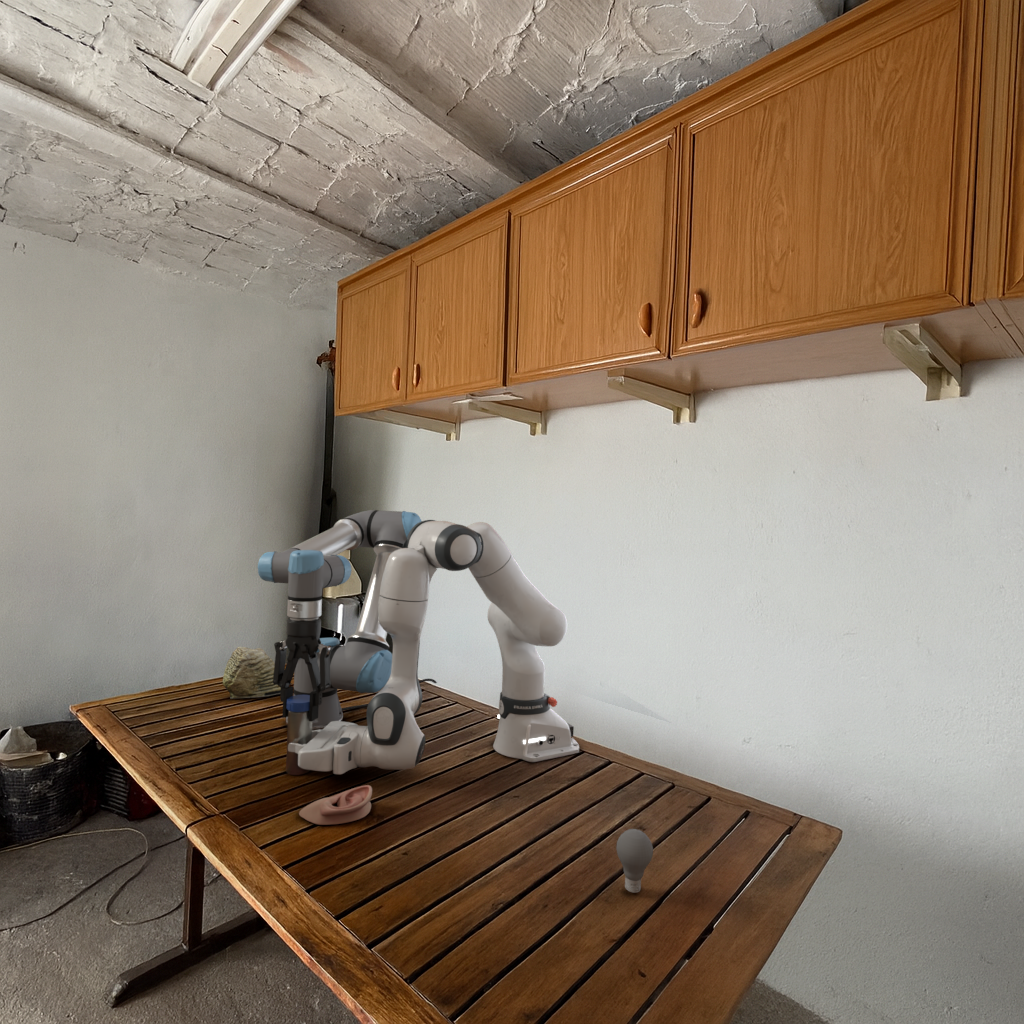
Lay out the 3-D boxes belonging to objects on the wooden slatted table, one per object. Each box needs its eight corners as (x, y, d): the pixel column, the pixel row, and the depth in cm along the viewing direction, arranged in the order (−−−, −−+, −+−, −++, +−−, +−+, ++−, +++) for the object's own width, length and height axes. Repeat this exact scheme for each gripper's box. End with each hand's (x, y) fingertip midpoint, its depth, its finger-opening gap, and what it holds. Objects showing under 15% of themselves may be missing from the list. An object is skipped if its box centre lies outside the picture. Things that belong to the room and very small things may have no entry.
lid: (280, 707, 145) (281, 698, 145) (305, 701, 150) (305, 692, 150) (296, 714, 141) (296, 705, 141) (320, 707, 146) (320, 699, 146)
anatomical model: (291, 800, 123) (320, 775, 134) (290, 820, 123) (320, 794, 134) (354, 810, 120) (379, 784, 132) (353, 830, 121) (378, 803, 132)
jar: (302, 763, 150) (304, 696, 150) (315, 770, 147) (318, 701, 146) (281, 770, 146) (283, 701, 145) (294, 777, 142) (297, 706, 142)
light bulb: (610, 879, 108) (613, 822, 108) (644, 879, 109) (647, 822, 109) (619, 902, 102) (622, 840, 102) (655, 901, 103) (658, 840, 103)
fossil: (218, 695, 195) (220, 647, 195) (278, 685, 208) (279, 640, 207) (228, 703, 189) (230, 653, 188) (289, 692, 201) (290, 645, 201)
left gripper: (257, 616, 144) (254, 717, 145) (333, 624, 140) (329, 728, 140) (277, 611, 151) (274, 707, 152) (349, 618, 147) (345, 717, 147)
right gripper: (368, 716, 155) (314, 712, 156) (338, 748, 135) (276, 743, 136) (367, 742, 155) (313, 737, 156) (337, 778, 135) (274, 772, 136)
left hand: (300, 717), depth 146 cm, fingers closed on lid, 6 cm apart
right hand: (295, 740), depth 146 cm, fingers closed on jar, 5 cm apart
